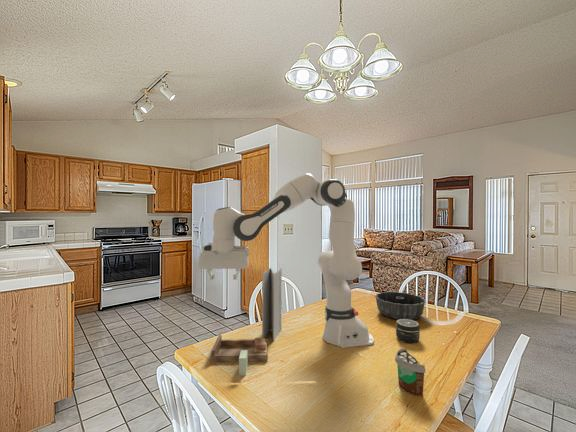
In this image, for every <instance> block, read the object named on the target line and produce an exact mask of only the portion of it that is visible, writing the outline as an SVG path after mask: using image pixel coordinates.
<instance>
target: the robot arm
mask: <svg viewBox="0 0 576 432" xmlns="http://www.w3.org/2000/svg"><path fill="white" fill-rule="evenodd" d="M309 199H310V200H311V201H313V203H314V204H316V205H318V206H321V207H322V206H327V207H328V208H329V212H330V216H329V226H328V228H329V229H328V240H329V242H330V243H331V246H332V247H331V248H332V250H327V251H323V252H322V253H321V254H320V255H319V257H318V260H317V263H318V266H319V268H320V270H321V272H322V276H323V277H322V278H323V282H324V285H325V300H326V302H325V304H326V305H325V308H324V318H325V324H324V330H323V334H322V339H323V340H324V341H325V342H326V343H328V344H332V345H334V346H337V347H339V348H341V349H345V348H355V347H363V346H364V347H365V346H373V345H374V343H375V339H374V337H373V335H372V334H371V333H370V332H369V329H368V326H367V325H366V323H365V322H364V321H362V320H361V319H360V318H359V317H358V316H359V314H360V313H359V311H358V310H356V309H355V308H354V307H353V306H352V291H351V288H350V286H349V284H348V281H352V280H353V281H354V280H357V279H358V278H359V277H360V276H361V273H362V272H363V271H362V270H363V264H362V262H361V260H360V259H359V257H358V255H357V251H356V248H355V238H354V236H355V222H356V218H355V217H356V211H355V210H356V209H355V203H354V201H353V200H352V199H351V198H348V195H347V192H346V187H345V186H344V184H343V182H341V181H340V180H339V179H333V178H330V179H327V180H323V181H320V182H319V181H318V180H317V179H316V178H315V177H314V175H312V174H311V173H303V174H300V175H299V176H296V177H294V178H293V179H291V180H289V181H288V182H286V183H285V184H283V185H282V186H281V187H280V188H279V189H278V190H277V191H276V192H275V194H274V197H273V198H272V199H271V200H270V201H269V202H268V203H267V204H265V205H264V206H262V207H261V208H259V209H258V210H256V211H255V212H253V213H251V214H250V213H249V214H245V213H242V212H240V211H238V210H236V209H235V208H233V207H232V206H226V207H221V208H217V209H216V210H214V213H213V219H212V220H213V222H212V231H213V237H212V242H209V243H207V244H203V245H202V246H201V247H200V249H201V252H200V253H199V257H198V268H199V269H200V270H205V269H206V270H207V274H208V275H209V279H210V281H211V280H213V281H214V280H215V274H213V272H212V270H217V269H218V270H221V269H222V270H226V269H227V270H230V269H231V270H235V271H236V272H235V273H236V274H233V275H232V276H233V279H232V280H238V275H239V273H240V271H241V269H244V270H245V269H247V268H248V267H249V255H250V250H249V248H248V247H246V246H245V245H242V246H241V245H235V242H236V240H235V239H236V238H237V239H239V240H241V241H242V242H243V241H244V242H249V241H252V240H254V239H255V238H257V236H258V235H259V233H260V232H261V230H262V229H263V227H265V225H267V224H268V223H269V222H271V221H272V220H274V219H275V218H277V217H278V216H279V215H281V214H283V213H285V212H288V211H292V210H293V209H295V208H297V207H298V206H300V205H301V204H303V203H304V202H306V201H307V200H309ZM347 280H348V281H347Z"/></svg>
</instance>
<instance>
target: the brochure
mask: <svg viewBox="0 0 576 432" xmlns="http://www.w3.org/2000/svg"><path fill="white" fill-rule="evenodd" d="M261 275H262V276H261V277H262V279H261V281H262V283H261V288H262V289H261V292H262V293H261V299H262V300H261V302H262V303H261V306H262V307H261V308H262V309H261V310H262V312H261V320H262V321H261V329H262V330H261V333H262V335H261V338H264V339H265V338H266V336H267V334H268V333H270V332H271V336H272V340H273V341H274V342H275V340H276V339H277V337H278V335H279V334H280V332H281V331H282V282H283V281H282V268H279V269H278V270H277V271H276V272H274V270H273V269H272V267H270V268H268V269H267V270H264V272H262V273H261Z"/></svg>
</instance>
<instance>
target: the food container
mask: <svg viewBox="0 0 576 432" xmlns="http://www.w3.org/2000/svg"><path fill="white" fill-rule="evenodd" d="M407 348H408V347H407ZM407 348H406V347H405V348H400V349H398V350H397V352H396V354H395V356H394V361H395V362H396V364H397V378H398V386H399V388H400V390H403V391H404V392H406V393H408V394H410V395H414V396H421V397H423V395H424V385H425V374H426V365H424V364H420V362H418V360H417V359H416V357H415V356H413V355H411V354H410V353H409V352H408V351H407V350H408V349H407Z"/></svg>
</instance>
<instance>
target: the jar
mask: <svg viewBox="0 0 576 432" xmlns="http://www.w3.org/2000/svg"><path fill="white" fill-rule="evenodd" d="M420 325H421V324H420V322H418V321H416V320H414V319H412V320H409V319H400V318H399V319H396V322H395V337H396V338H397V340H398V341H399V342H401V341H402V343H405V344H410V345H411V344H412V345H413V343H414V344H418V342H419V340H420V338H421V337H420V336H421V335H420V334H421V333H420V332H421V327H420Z"/></svg>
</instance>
